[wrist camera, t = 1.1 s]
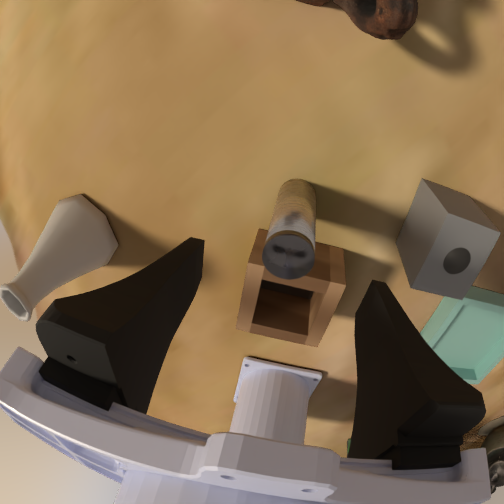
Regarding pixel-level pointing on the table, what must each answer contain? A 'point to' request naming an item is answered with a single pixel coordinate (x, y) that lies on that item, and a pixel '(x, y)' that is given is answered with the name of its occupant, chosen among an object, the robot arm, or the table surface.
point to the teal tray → (468, 333)
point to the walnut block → (292, 296)
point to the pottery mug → (378, 15)
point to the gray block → (444, 241)
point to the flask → (61, 254)
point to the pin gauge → (292, 232)
